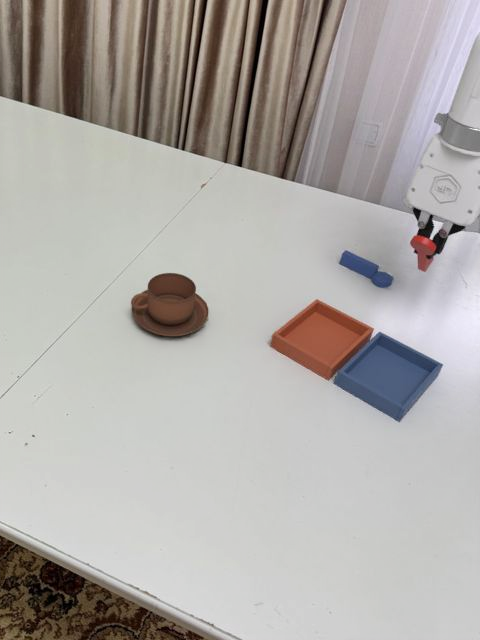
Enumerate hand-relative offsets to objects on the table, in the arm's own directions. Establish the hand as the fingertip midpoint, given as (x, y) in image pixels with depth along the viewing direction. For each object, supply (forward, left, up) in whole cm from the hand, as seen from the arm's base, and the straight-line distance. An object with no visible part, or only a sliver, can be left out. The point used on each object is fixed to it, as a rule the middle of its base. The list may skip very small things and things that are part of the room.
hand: (425, 252), depth 93 cm
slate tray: (-5, +15, -13) cm, 20 cm away
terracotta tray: (+6, +15, -13) cm, 21 cm away
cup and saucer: (+27, +27, -13) cm, 40 cm away
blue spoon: (+11, -8, -13) cm, 19 cm away
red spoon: (0, +2, 0) cm, 2 cm away
